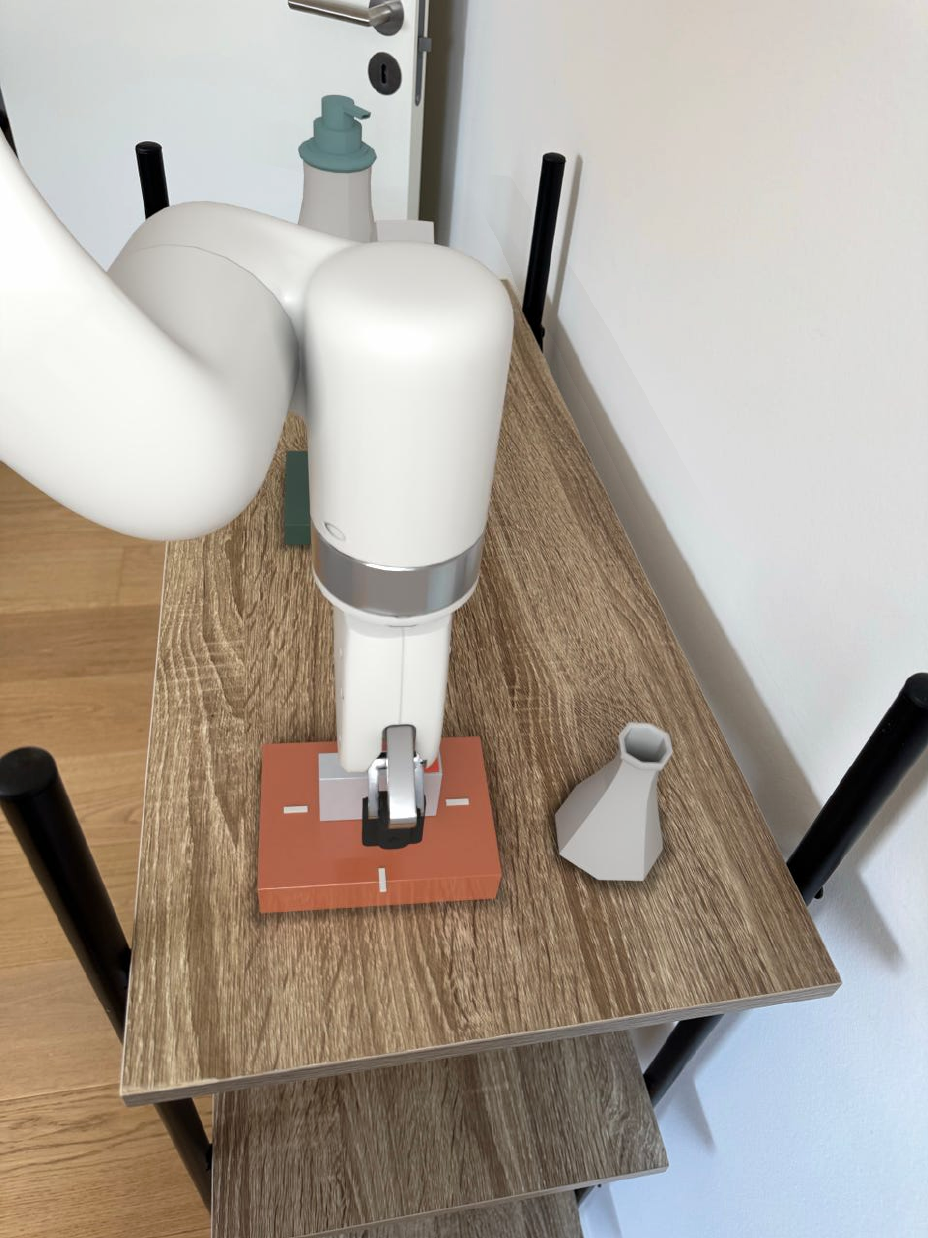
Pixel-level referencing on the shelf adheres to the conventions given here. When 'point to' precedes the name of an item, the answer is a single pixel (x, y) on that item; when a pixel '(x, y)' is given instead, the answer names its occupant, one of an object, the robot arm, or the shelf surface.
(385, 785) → the tap handle
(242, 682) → the shelf surface
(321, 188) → the soap bottle
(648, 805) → the flask
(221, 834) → the shelf surface
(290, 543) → the button block
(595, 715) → the shelf surface
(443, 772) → the panel
